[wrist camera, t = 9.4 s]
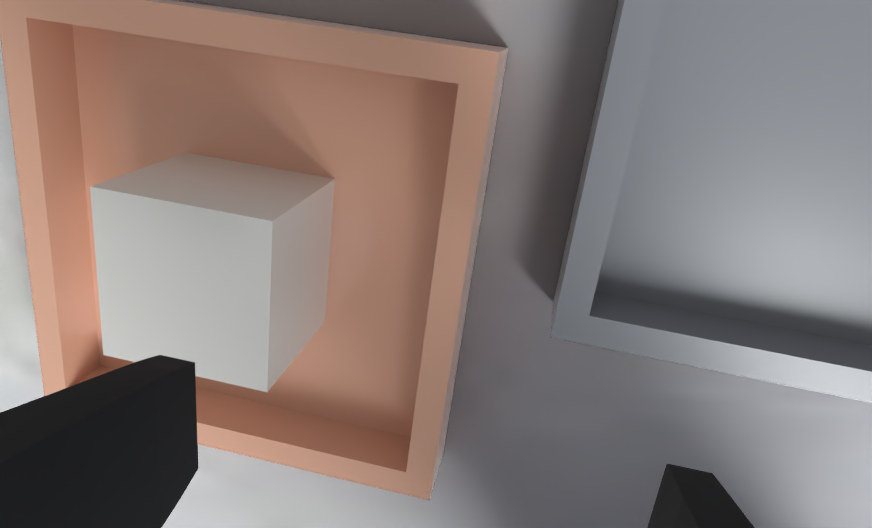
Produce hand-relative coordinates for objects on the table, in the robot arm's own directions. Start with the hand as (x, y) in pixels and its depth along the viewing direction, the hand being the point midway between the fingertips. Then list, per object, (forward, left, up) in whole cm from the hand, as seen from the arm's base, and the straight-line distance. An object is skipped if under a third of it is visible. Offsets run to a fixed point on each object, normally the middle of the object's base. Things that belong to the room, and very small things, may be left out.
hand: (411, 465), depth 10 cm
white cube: (-1, +7, -9) cm, 11 cm away
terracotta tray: (-1, +7, -9) cm, 11 cm away
